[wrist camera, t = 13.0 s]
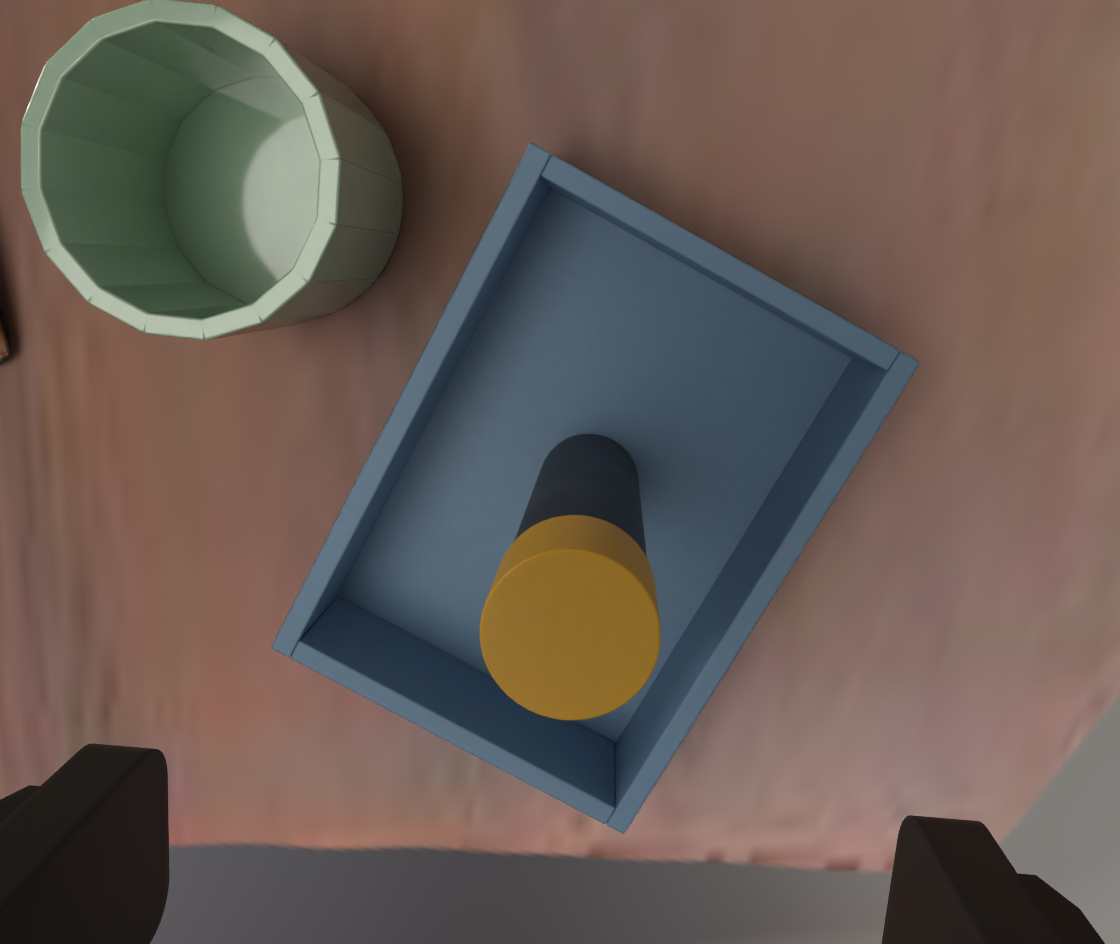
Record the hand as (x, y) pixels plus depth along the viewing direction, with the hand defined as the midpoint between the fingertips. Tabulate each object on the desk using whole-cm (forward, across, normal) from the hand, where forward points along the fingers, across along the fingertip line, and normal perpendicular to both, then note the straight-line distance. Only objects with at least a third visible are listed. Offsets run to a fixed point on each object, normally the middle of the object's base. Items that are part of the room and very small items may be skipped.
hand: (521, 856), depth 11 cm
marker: (+20, 0, 0) cm, 20 cm away
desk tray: (+20, 0, 0) cm, 20 cm away
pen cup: (+20, +9, -8) cm, 24 cm away
